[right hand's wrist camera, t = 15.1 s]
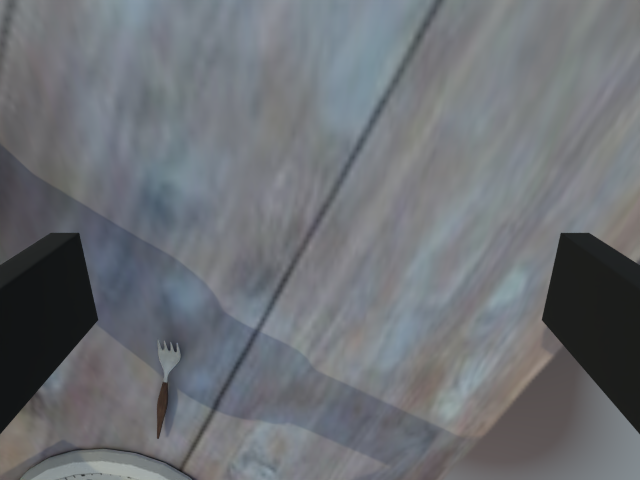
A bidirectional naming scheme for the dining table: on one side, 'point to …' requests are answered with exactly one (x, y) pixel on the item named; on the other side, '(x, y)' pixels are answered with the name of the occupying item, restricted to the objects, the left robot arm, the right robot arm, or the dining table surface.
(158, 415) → the fork
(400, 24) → the dining table surface
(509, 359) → the dining table surface
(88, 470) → the wall clock
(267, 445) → the dining table surface
